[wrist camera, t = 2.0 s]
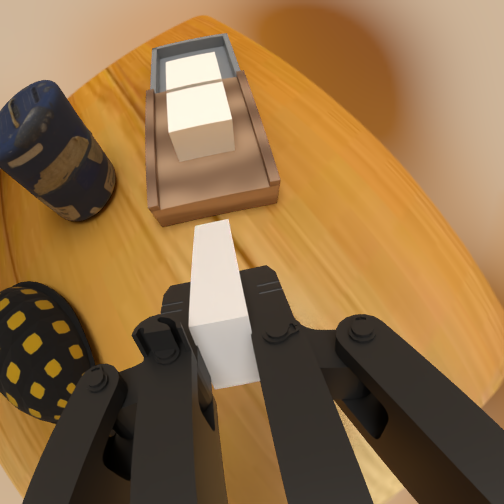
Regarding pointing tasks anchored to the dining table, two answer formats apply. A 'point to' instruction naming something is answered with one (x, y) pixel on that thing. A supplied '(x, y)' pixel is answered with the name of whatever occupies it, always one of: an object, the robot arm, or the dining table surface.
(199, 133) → the block
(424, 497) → the robot arm
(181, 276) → the dining table surface
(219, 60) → the tray
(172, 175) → the board
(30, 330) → the yellow spotted black dome
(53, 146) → the canister
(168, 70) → the block
